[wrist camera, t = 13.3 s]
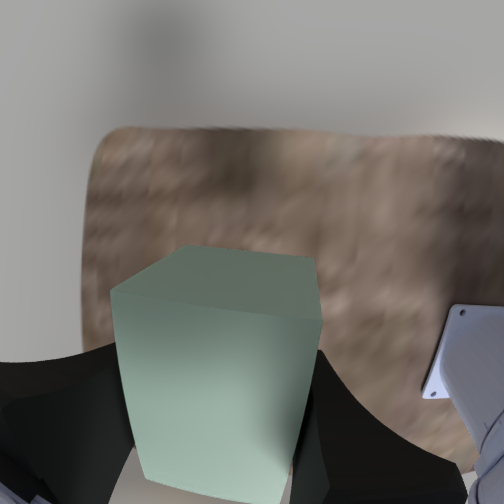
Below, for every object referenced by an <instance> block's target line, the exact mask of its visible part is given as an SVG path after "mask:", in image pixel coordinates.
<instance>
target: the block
mask: <svg viewBox="0 0 504 504" xmlns="http://www.w3.org/2000/svg"><path fill="white" fill-rule="evenodd" d="M110 296H111V307H112V317H113V326H114V334H115V341H116V349H117V355H118V362H119V368H120V374H121V380H122V385H123V391H124V396H125V401H126V406H127V410H128V415H129V419H130V424H131V428H132V432H133V436H134V440H135V444H136V448H137V452H138V455H139V459H140V462H141V466H142V469H143V473H144V476H145V478H146V479H148V480H152V481H155V482H158V483H161V484H164V485H168V486H171V487H175V488H179V489H182V490H186V491H190V492H194V493H198V494H203V495H207V496H212V497H217V498H222V499H227V500H233V501H238V502H245V503H252V504H280V501H281V497H282V494H283V491H284V487H285V484H286V481H287V477H288V474H289V470H290V467H291V463H292V459H293V456H294V452H295V448H296V444H297V440H298V436H299V432H300V428H301V424H302V420H303V416H304V412H305V407H306V403H307V398H308V394H309V389H310V385H311V380H312V375H313V370H314V365H315V360H316V355H317V350H318V345H319V339H320V334H321V328H322V322H323V318H322V311H321V304H320V297H319V290H318V283H317V277H316V270H315V264H314V258H312V257H302V256H292V255H283V254H273V253H263V252H254V251H244V250H235V249H225V248H215V247H206V246H196V245H185V246H183V247H181V248H180V249H178V250H176V251H174V252H173V253H171V254H169V255H168V256H166V257H164V258H162V259H161V260H159V261H157V262H156V263H154V264H152V265H151V266H149V267H147V268H146V269H144V270H142V271H141V272H139V273H137V274H136V275H134V276H132V277H131V278H129V279H127V280H126V281H124V282H122V283H121V284H119V285H118V286H116V287H114V288H113V289H111V290H110Z"/></svg>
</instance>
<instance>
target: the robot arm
mask: <svg viewBox="0 0 504 504" xmlns="http://www.w3.org/2000/svg"><path fill="white" fill-rule="evenodd" d="M461 310H463V313H462V314H460V312H461ZM432 392H434V393H432ZM431 393H432V394H431ZM421 394H422V397H423V398H424V399H435V398H451V400H452V402H453V404H454V406H455V408H456V409H457V411H458V413H459V415H460V417H461V419H462V420H463V422H464V424H465V426H466V428H467V430H468V432H469V434H470V436H471V438H472V440H473V442H474V444H475V446H476V448H477V450H478V452H479V454H480V457H479V459H478V460H477V461H476V462H475V463H474V465H473V466H474V469H475V471H476V473H477V476H478V479H477V480H475V482H474V483H473V485H472V486H471V488H470V491H469V495H468V494H467V490H466V487H465V484H464V482H463V479H462V476H461V474H460V472H459V469H458V467H457V465H456V463H453V462H451V461H448V460H446V459H443V458H441V457H438V456H436V455H434V454H431V453H429V452H427V451H425V450H423V449H421V448H419V447H417V446H416V445H414V444H412V443H410V442H408V441H407V440H405V439H404V438H402V437H401V436H399V435H397V434H396V433H395V432H393V431H392V430H391V429H389V428H388V427H386V426H385V425H384V424H382V423H381V422H380V421H379V420H377V419H376V418H375V417H374V416H373V415H372V414H371V413H370V412H369V411H368V410H366V409H365V408H364V407H363V406H362V405H361V404H360V403H359V402H358V401H357V399H356V398H355V397H354V396H353V395H352V394H351V392H350V391H349V390H348V389H347V387H346V386H345V385H344V383H343V382H342V381H341V379H340V378H339V377H338V375H337V374H336V372H335V371H334V369H333V368H332V366H331V365H330V363H329V361H328V360H327V358H326V356H325V355H324V353H323V352H322V350H317V355H316V360H315V365H314V370H313V375H312V380H311V385H310V389H309V394H308V398H307V403H306V407H305V412H304V416H303V420H302V424H301V428H300V432H299V436H298V440H297V444H296V448H295V452H294V456H293V477H292V487H291V495H290V503H289V504H465V502H466V500H467V497H468V504H504V307H503V306H482V305H464V304H455V305H453V306H452V307H451V309H450V311H449V315H448V319H447V322H446V325H445V329H444V332H443V335H442V338H441V341H440V344H439V347H438V350H437V353H436V356H435V359H434V362H433V364H432V367H431V370H430V372H429V375H428V378H427V380H426V383H425V385H424V388H423V390H422V393H421ZM134 444H135V440H134V436H133V432H132V428H131V424H130V419H129V415H128V410H127V406H126V401H125V396H124V391H123V385H122V380H121V374H120V368H119V362H118V355H117V349H116V342H114V343H112V344H109V345H106V346H103V347H100V348H97V349H94V350H91V351H88V352H85V353H81V354H78V355H74V356H69V357H65V358H60V359H52V360H45V361H38V362H23V363H22V362H21V363H9V362H7V363H6V362H0V504H108V503H109V500H110V497H111V495H112V492H113V490H114V487H115V484H116V482H117V480H118V478H119V475H120V473H121V471H122V468H123V466H124V464H125V462H126V460H127V458H128V456H129V454H130V451H131V450H132V448H133V446H134Z"/></svg>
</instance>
